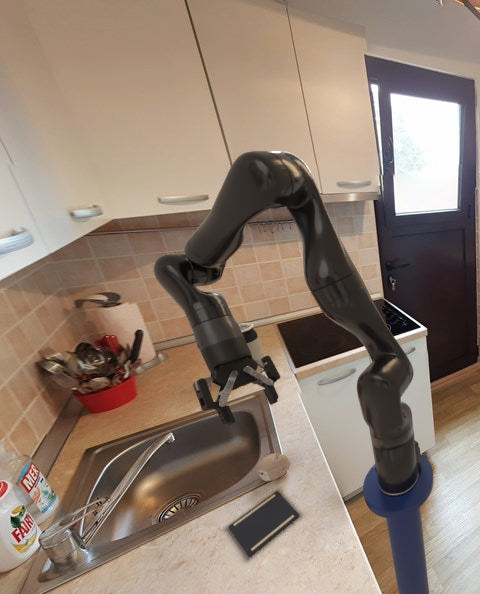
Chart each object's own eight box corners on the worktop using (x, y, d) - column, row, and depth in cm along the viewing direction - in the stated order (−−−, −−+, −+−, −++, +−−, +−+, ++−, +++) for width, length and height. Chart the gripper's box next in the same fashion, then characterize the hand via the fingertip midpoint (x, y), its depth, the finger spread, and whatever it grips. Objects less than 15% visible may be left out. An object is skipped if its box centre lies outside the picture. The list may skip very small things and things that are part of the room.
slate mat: (277, 491, 77) (276, 490, 77) (299, 516, 72) (299, 514, 72) (228, 527, 70) (227, 526, 70) (249, 557, 64) (248, 556, 64)
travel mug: (264, 373, 120) (251, 330, 113) (238, 378, 118) (223, 334, 111) (268, 362, 127) (256, 320, 120) (245, 366, 125) (231, 324, 118)
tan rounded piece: (265, 492, 77) (256, 467, 74) (256, 475, 81) (248, 451, 78) (294, 474, 82) (287, 450, 79) (285, 459, 86) (278, 436, 83)
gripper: (187, 348, 60) (224, 428, 60) (265, 327, 73) (295, 393, 73) (172, 359, 64) (207, 435, 64) (249, 337, 76) (278, 400, 76)
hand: (254, 413), depth 68 cm, fingers open, 8 cm apart
